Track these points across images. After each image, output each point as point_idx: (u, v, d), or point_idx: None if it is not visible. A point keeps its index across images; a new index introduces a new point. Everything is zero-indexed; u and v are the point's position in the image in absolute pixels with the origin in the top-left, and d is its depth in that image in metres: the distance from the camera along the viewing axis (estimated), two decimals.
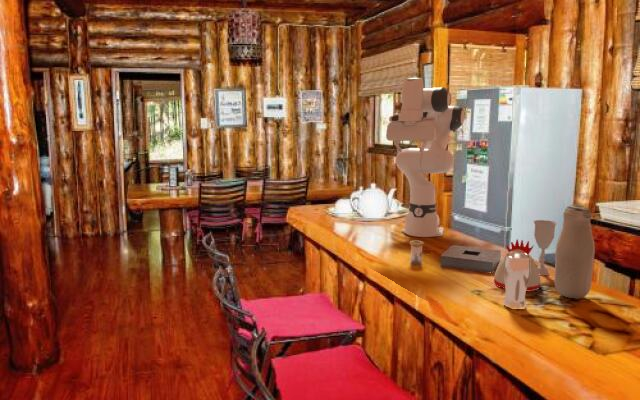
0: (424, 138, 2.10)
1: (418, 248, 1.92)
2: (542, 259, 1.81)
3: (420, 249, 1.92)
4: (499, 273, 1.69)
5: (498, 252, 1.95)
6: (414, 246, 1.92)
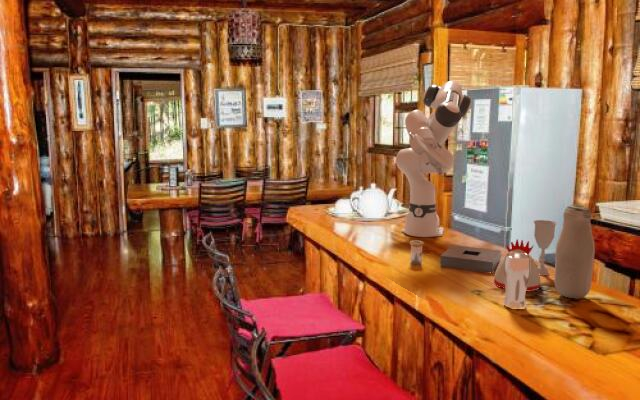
0: None
1: (418, 248, 1.92)
2: (542, 259, 1.81)
3: (420, 249, 1.92)
4: (499, 273, 1.69)
5: (498, 252, 1.95)
6: (414, 246, 1.92)
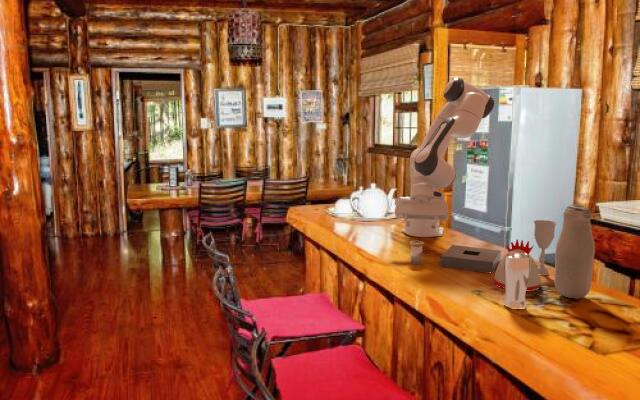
0: None
1: (418, 248, 1.92)
2: (542, 259, 1.81)
3: (420, 249, 1.92)
4: (499, 273, 1.69)
5: (498, 252, 1.95)
6: (414, 246, 1.92)
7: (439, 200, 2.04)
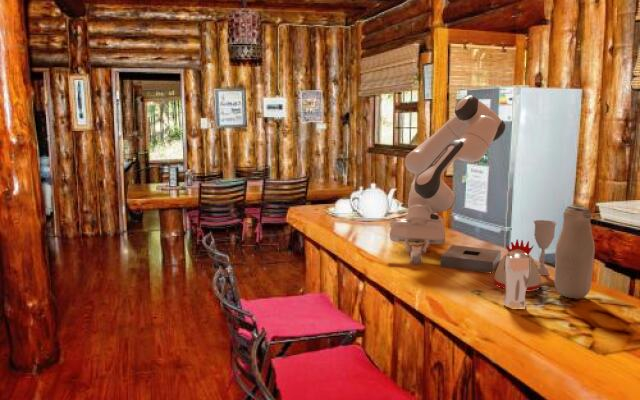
0: None
1: (418, 248, 1.92)
2: (542, 259, 1.81)
3: (420, 249, 1.92)
4: (499, 273, 1.69)
5: (498, 252, 1.95)
6: (414, 246, 1.92)
7: (436, 223, 1.96)
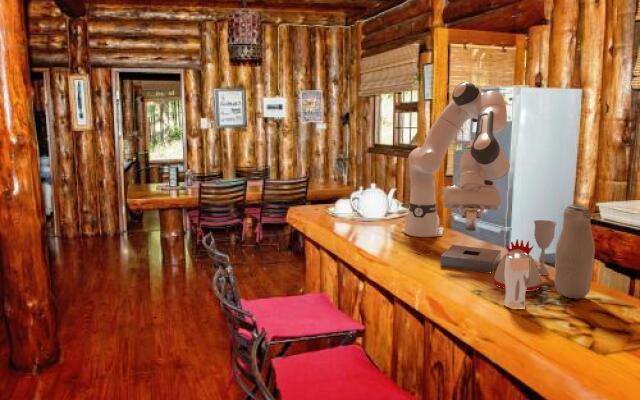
0: None
1: (473, 214, 1.89)
2: (542, 259, 1.81)
3: (475, 214, 1.90)
4: (499, 273, 1.69)
5: (498, 252, 1.95)
6: (469, 211, 1.90)
7: (490, 189, 1.94)
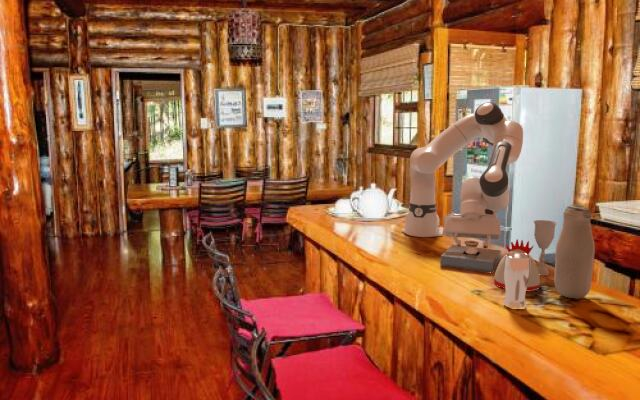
0: None
1: (473, 249, 1.92)
2: (542, 259, 1.81)
3: (475, 249, 1.92)
4: (499, 273, 1.69)
5: (498, 252, 1.95)
6: (469, 246, 1.92)
7: (491, 218, 1.96)
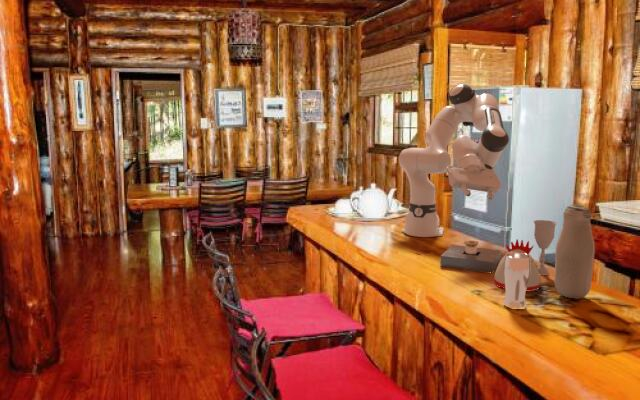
0: None
1: (473, 248, 1.92)
2: (542, 259, 1.81)
3: (475, 249, 1.92)
4: (499, 273, 1.69)
5: (498, 252, 1.95)
6: (469, 246, 1.92)
7: (490, 173, 2.01)
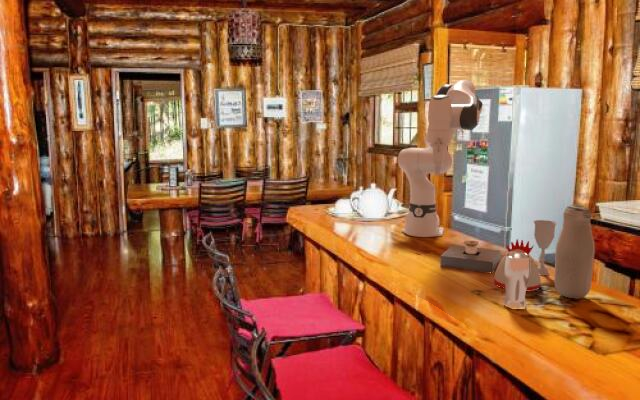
0: None
1: (473, 248, 1.92)
2: (542, 259, 1.81)
3: (475, 249, 1.92)
4: (499, 273, 1.69)
5: (498, 252, 1.95)
6: (469, 246, 1.92)
7: None
